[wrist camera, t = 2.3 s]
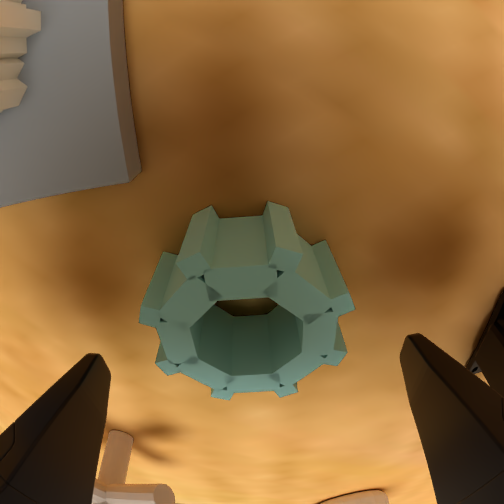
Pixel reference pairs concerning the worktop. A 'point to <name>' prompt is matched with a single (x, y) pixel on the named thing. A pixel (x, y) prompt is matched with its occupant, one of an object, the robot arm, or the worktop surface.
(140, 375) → the worktop surface
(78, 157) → the gear board
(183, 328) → the teal gear
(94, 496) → the pipe connector
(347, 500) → the soap bottle
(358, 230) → the worktop surface
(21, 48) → the cream gear
